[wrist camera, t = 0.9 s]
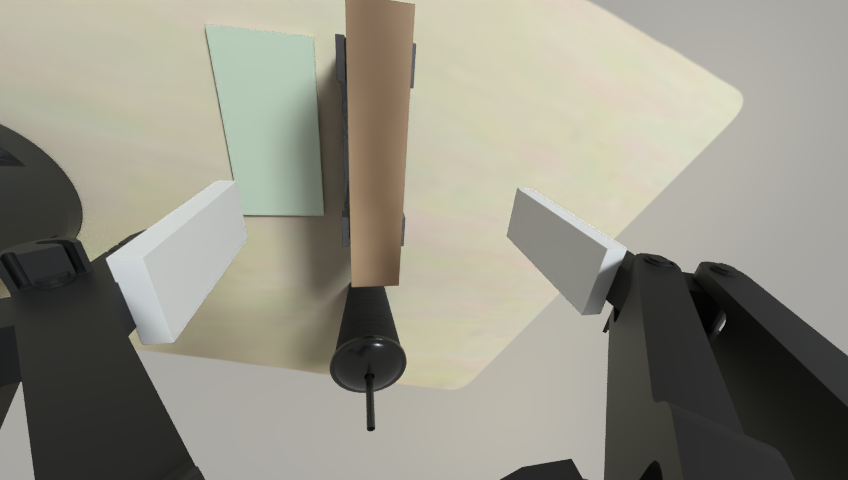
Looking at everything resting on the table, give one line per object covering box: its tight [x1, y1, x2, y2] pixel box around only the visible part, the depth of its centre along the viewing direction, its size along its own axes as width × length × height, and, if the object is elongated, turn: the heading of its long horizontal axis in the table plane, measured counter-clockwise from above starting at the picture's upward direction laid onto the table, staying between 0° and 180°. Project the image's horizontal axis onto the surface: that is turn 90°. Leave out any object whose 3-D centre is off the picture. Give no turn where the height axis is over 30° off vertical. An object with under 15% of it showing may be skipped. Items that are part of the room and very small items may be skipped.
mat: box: [205, 24, 324, 216], centre depth 32 cm, size 9×18×1 cm, turn 174°
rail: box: [345, 0, 415, 287], centre depth 25 cm, size 4×20×6 cm, turn 175°
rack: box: [335, 34, 416, 247], centre depth 30 cm, size 6×18×10 cm, turn 175°
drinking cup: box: [330, 283, 406, 431], centre depth 35 cm, size 8×8×20 cm
